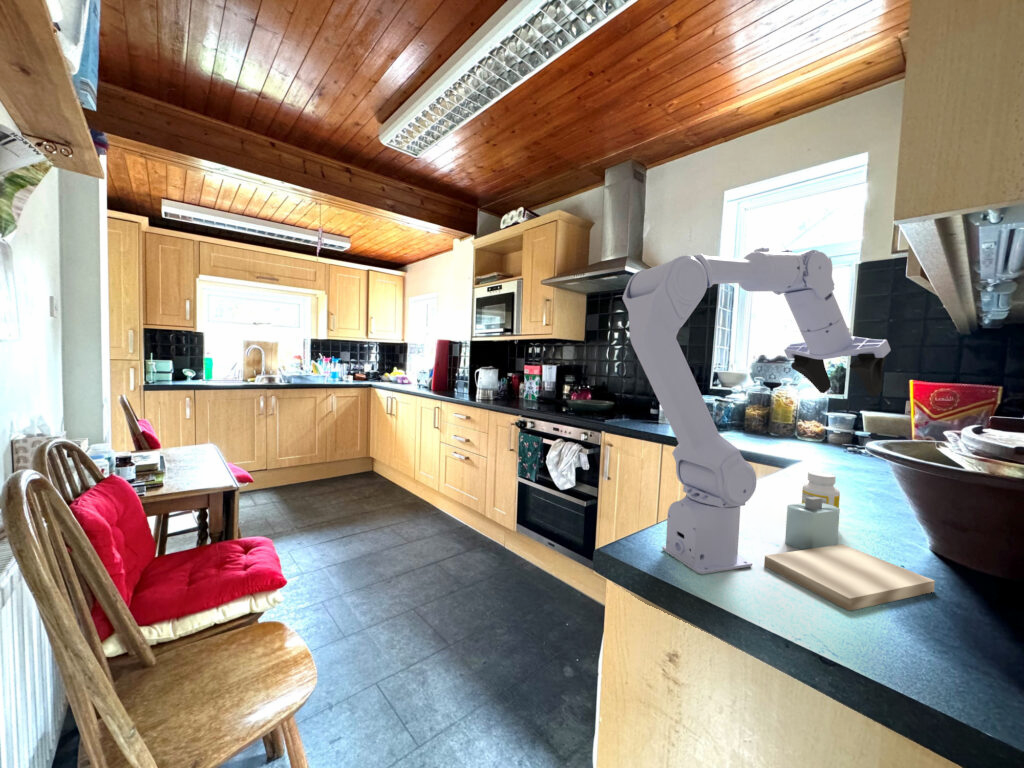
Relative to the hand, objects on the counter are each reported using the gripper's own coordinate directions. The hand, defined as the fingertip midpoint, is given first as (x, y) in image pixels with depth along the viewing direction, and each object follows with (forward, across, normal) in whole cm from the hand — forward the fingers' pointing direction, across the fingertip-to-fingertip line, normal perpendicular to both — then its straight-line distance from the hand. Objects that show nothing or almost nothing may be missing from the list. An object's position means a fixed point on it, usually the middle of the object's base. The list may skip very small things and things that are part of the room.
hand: (849, 391), depth 67 cm
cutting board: (+12, -10, +26) cm, 30 cm away
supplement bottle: (+22, +5, +13) cm, 26 cm away
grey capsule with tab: (+16, 0, +20) cm, 26 cm away
